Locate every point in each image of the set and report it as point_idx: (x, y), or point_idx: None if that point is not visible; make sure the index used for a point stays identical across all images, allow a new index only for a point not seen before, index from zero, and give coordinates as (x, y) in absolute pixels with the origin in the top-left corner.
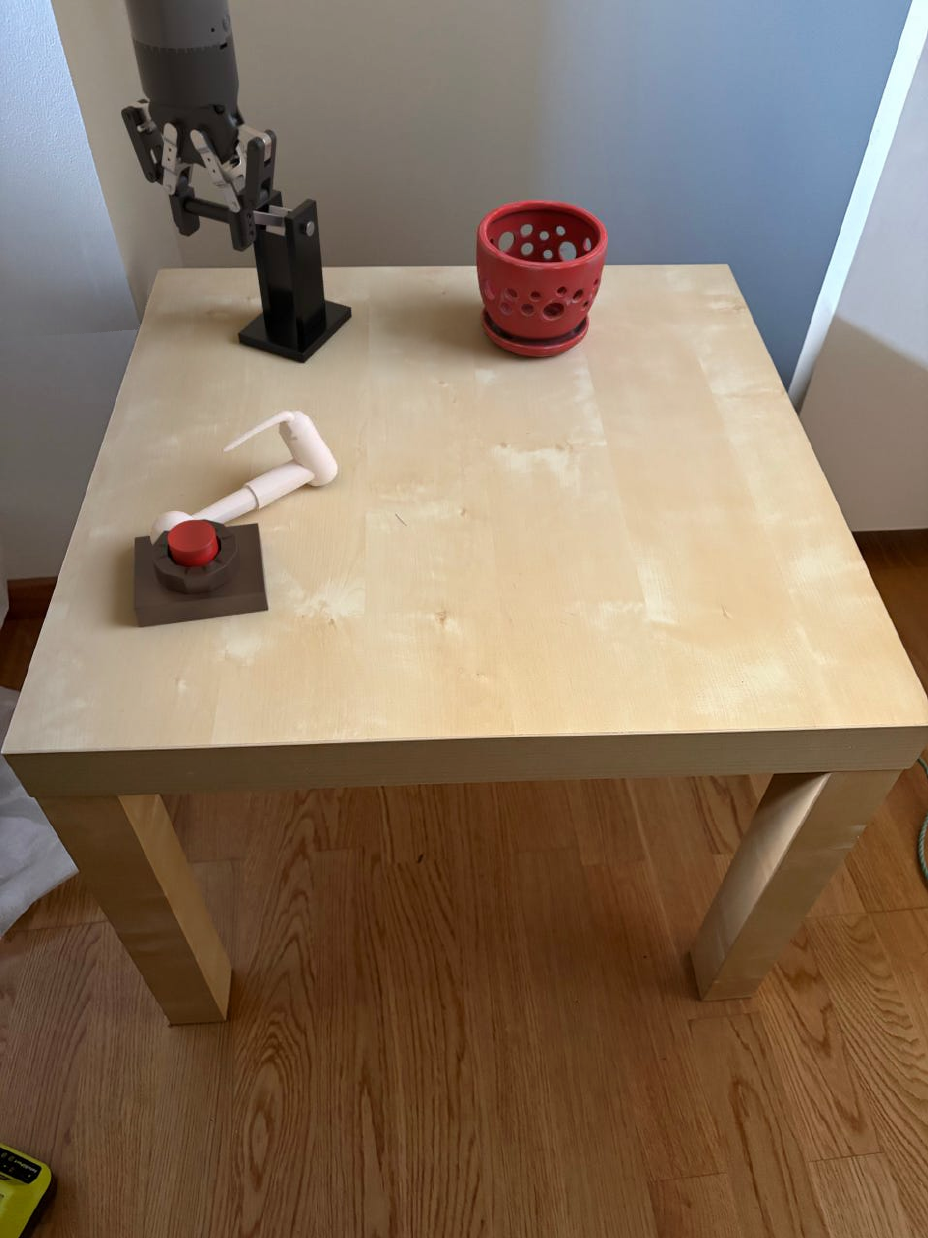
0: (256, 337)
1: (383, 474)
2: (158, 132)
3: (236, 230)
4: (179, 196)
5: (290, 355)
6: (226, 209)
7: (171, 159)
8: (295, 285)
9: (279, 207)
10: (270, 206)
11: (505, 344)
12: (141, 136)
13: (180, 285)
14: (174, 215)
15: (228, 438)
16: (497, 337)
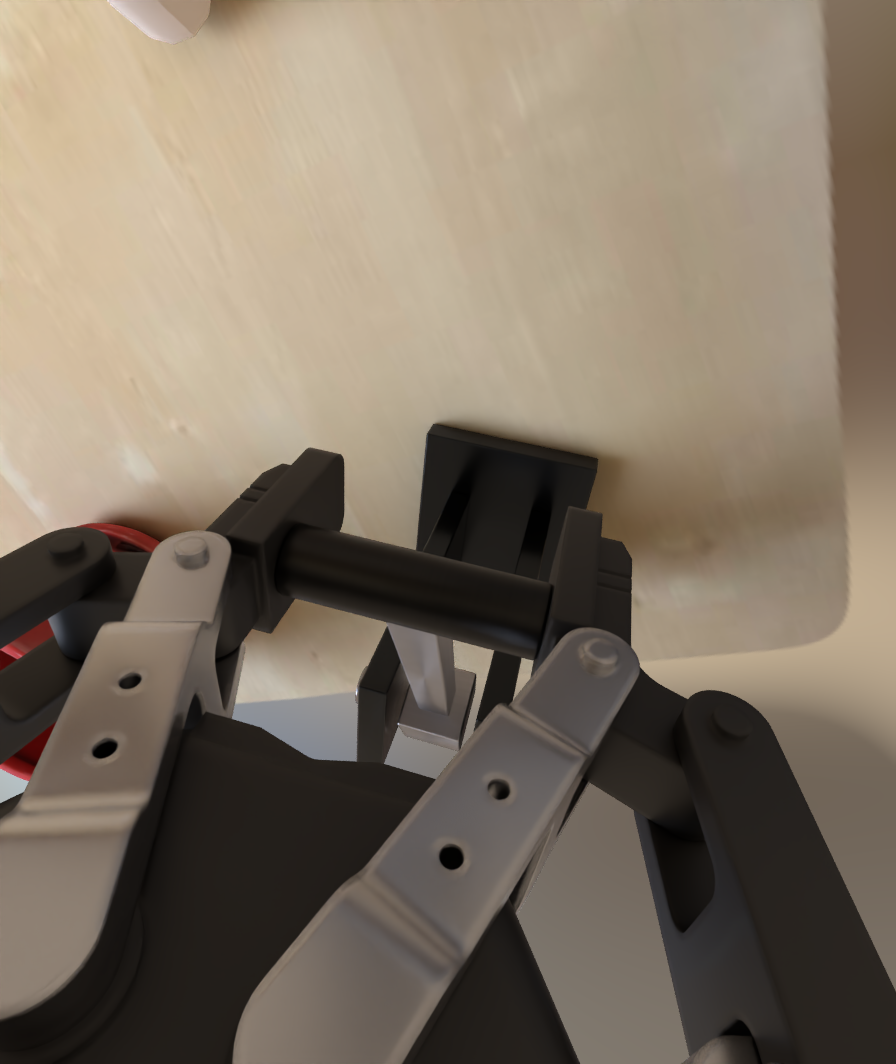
0: (547, 464)
1: (89, 83)
2: (691, 1026)
3: (269, 488)
4: (550, 625)
5: (462, 433)
6: (308, 573)
7: (473, 785)
8: None
9: (434, 736)
10: (454, 737)
11: (129, 533)
12: (778, 1011)
13: (810, 624)
14: (622, 574)
15: (467, 64)
16: (142, 544)
